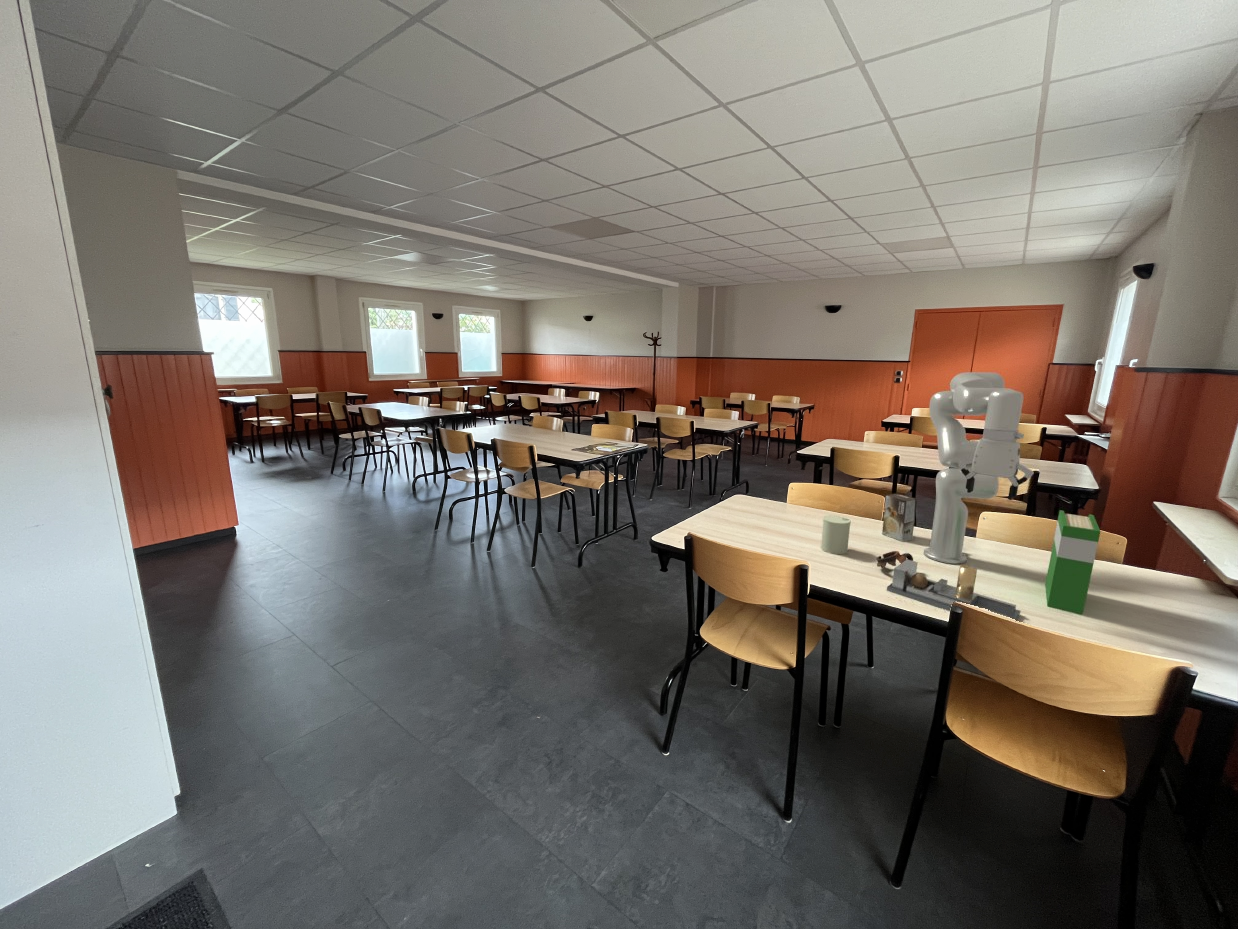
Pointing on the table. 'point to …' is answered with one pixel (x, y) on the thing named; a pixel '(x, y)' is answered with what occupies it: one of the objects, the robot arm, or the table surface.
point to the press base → (926, 595)
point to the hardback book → (1071, 562)
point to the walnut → (919, 581)
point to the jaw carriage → (960, 586)
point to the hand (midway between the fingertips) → (989, 495)
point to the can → (835, 534)
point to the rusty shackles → (892, 558)
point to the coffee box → (899, 517)
